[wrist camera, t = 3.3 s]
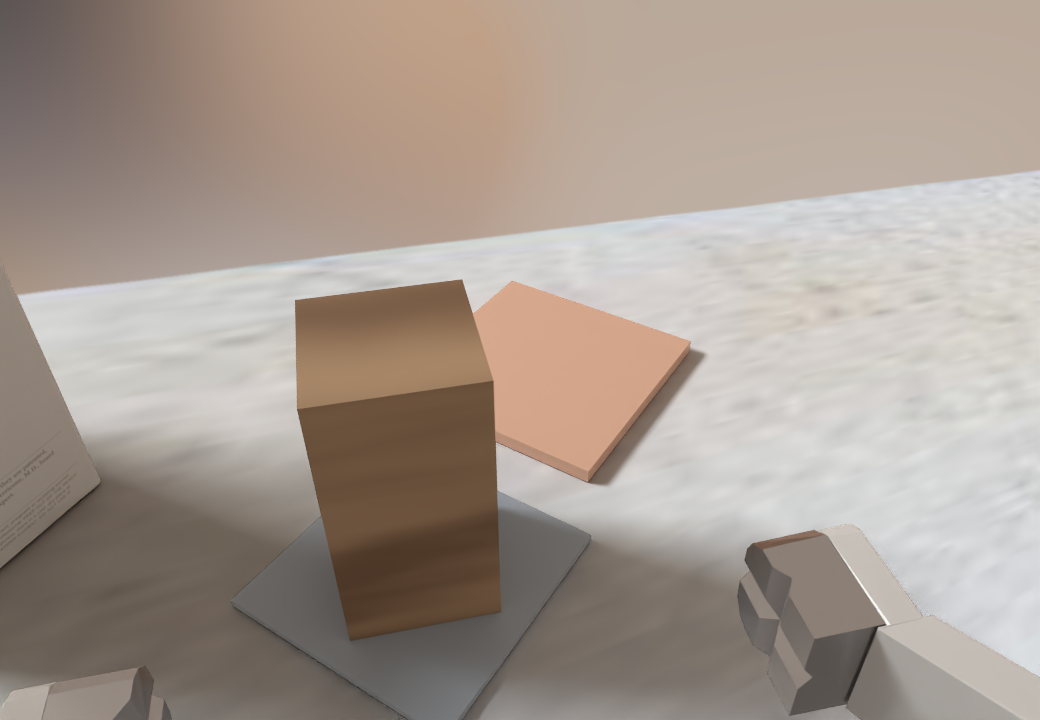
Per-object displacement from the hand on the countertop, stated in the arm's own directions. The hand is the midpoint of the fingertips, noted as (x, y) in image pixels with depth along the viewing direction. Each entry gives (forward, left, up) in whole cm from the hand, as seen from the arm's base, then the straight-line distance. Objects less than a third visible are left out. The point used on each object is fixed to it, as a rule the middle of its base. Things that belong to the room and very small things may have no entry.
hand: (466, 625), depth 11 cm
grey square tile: (+8, +9, -14) cm, 19 cm away
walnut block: (+8, +9, -14) cm, 19 cm away
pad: (+20, +11, -14) cm, 27 cm away
